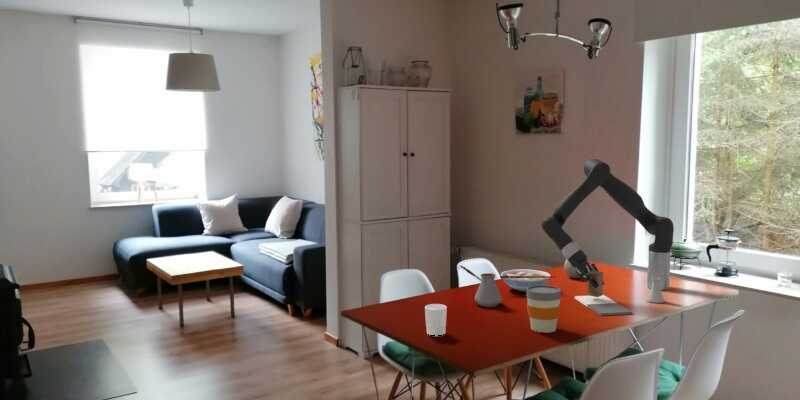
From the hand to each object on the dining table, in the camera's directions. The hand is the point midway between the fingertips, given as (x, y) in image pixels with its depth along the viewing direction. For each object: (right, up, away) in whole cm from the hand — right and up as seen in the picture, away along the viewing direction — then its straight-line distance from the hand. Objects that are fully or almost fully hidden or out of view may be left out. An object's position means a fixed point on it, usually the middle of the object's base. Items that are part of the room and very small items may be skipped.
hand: (599, 286), depth 256 cm
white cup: (-72, -12, -36) cm, 81 cm away
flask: (+24, -7, +1) cm, 25 cm away
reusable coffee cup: (-32, -11, -33) cm, 47 cm away
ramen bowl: (-27, -5, +24) cm, 36 cm away
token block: (-1, -4, +2) cm, 5 cm away
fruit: (+3, -3, +46) cm, 46 cm away
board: (-1, -8, -4) cm, 9 cm away
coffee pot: (-51, -8, +5) cm, 51 cm away
